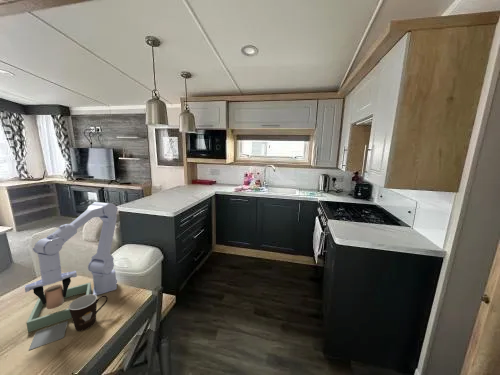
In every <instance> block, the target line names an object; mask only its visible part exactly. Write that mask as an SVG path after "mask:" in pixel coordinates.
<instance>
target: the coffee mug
mask: <svg viewBox="0 0 500 375" xmlns="http://www.w3.org/2000/svg"><path fill="white" fill-rule="evenodd" d="M102 298H105V301H104V302H103V304H102V305H101V306H100V307H99V308H98V309H97V306H98V302H99V300H100V299H102ZM108 301H109V296H107V295H101V296H100V297H98V295H93V293H91V294H90V295H86V294H85V295H81V296H79V297H77V298H75V299H74V300H72V301H71V302H70V303H69V305H68V308H69V310H70V313H71V317H72V318H71V320H72V323H73V326H74V329H75V331H77V332H83V331H86V330H88V329H90V328H92V327H93V326H94V325H95V323H96V321H97V313H98V312H99V311H100V310H101V309H102V308H103V307H104V306H105V305H106V303H107V302H108Z"/></svg>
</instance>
